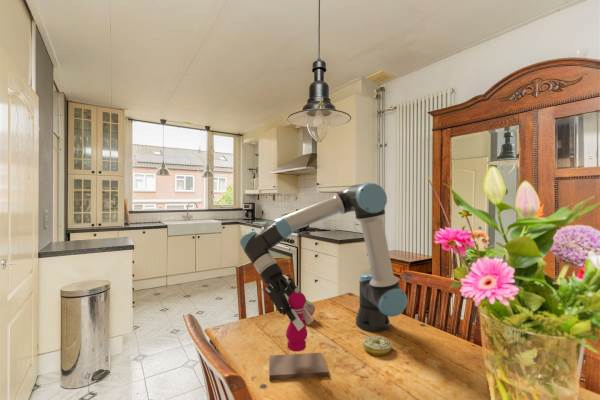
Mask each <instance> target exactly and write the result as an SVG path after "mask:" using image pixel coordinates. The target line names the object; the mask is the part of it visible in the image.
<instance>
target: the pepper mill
mask: <svg viewBox="0 0 600 400" xmlns="http://www.w3.org/2000/svg"><path fill="white" fill-rule="evenodd" d="M306 298H307V297H306V296H305V294H304V293H303V292H300V288H299V287H297V288H295V292H294V293H292V294H290V296H289V297H288V299H287V301H288V303H289V305H290V308H291V310H292V309H294V311H295V312H296V314H297V315H298V317H299V318H300V320H301V321H302V323H303V324H304V327H303V328H302V329H300V330H299V331H298V330H297V328H296V327H295V325H294V324H293V322H292V321H291V320H290V319H289V320H290V321H289V323H288V326H287V327H286V331H285V335H286V336H285V337H286V338H287V347H286V348H288V350H289V351H292V352H301V351H304V350H305V349H306V347H307V341H306V339H307V338H308V329H307V327H306V324H305V322H304V321H305V320H304V319H303V312H304V305H305V303H306V300H307V299H306Z"/></svg>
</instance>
